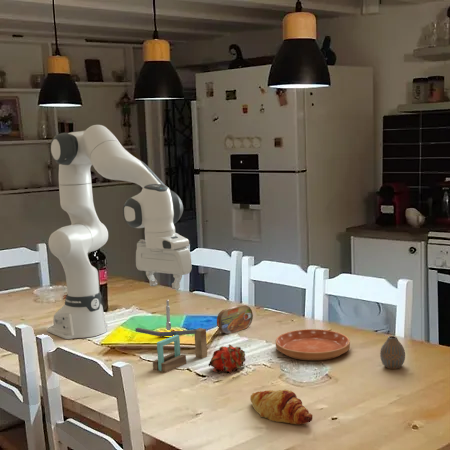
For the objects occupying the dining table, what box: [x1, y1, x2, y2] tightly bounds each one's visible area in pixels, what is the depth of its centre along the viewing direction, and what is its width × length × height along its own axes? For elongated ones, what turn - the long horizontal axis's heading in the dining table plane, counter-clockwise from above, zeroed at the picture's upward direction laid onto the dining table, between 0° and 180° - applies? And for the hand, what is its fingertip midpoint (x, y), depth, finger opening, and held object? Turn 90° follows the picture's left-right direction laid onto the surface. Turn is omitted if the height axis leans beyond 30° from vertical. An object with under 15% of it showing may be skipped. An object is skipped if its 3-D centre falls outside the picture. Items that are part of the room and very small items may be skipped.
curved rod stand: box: [135, 327, 208, 359], centre depth 212 cm, size 21×12×10 cm, turn 52°
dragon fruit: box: [208, 344, 246, 374], centre depth 199 cm, size 8×8×12 cm
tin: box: [216, 304, 254, 335], centre depth 239 cm, size 15×3×8 cm, turn 131°
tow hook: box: [165, 299, 172, 330], centre depth 238 cm, size 8×13×9 cm
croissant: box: [249, 389, 313, 426], centre depth 168 cm, size 21×10×8 cm, turn 40°
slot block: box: [152, 352, 187, 373], centre depth 203 cm, size 5×9×4 cm, turn 142°
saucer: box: [275, 328, 351, 361], centre depth 215 cm, size 23×23×4 cm
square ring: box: [156, 335, 181, 372], centre depth 203 cm, size 1×8×8 cm, turn 142°
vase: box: [379, 335, 406, 370], centre depth 197 cm, size 7×7×9 cm
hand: (164, 287), depth 201 cm, fingers open, 8 cm apart
